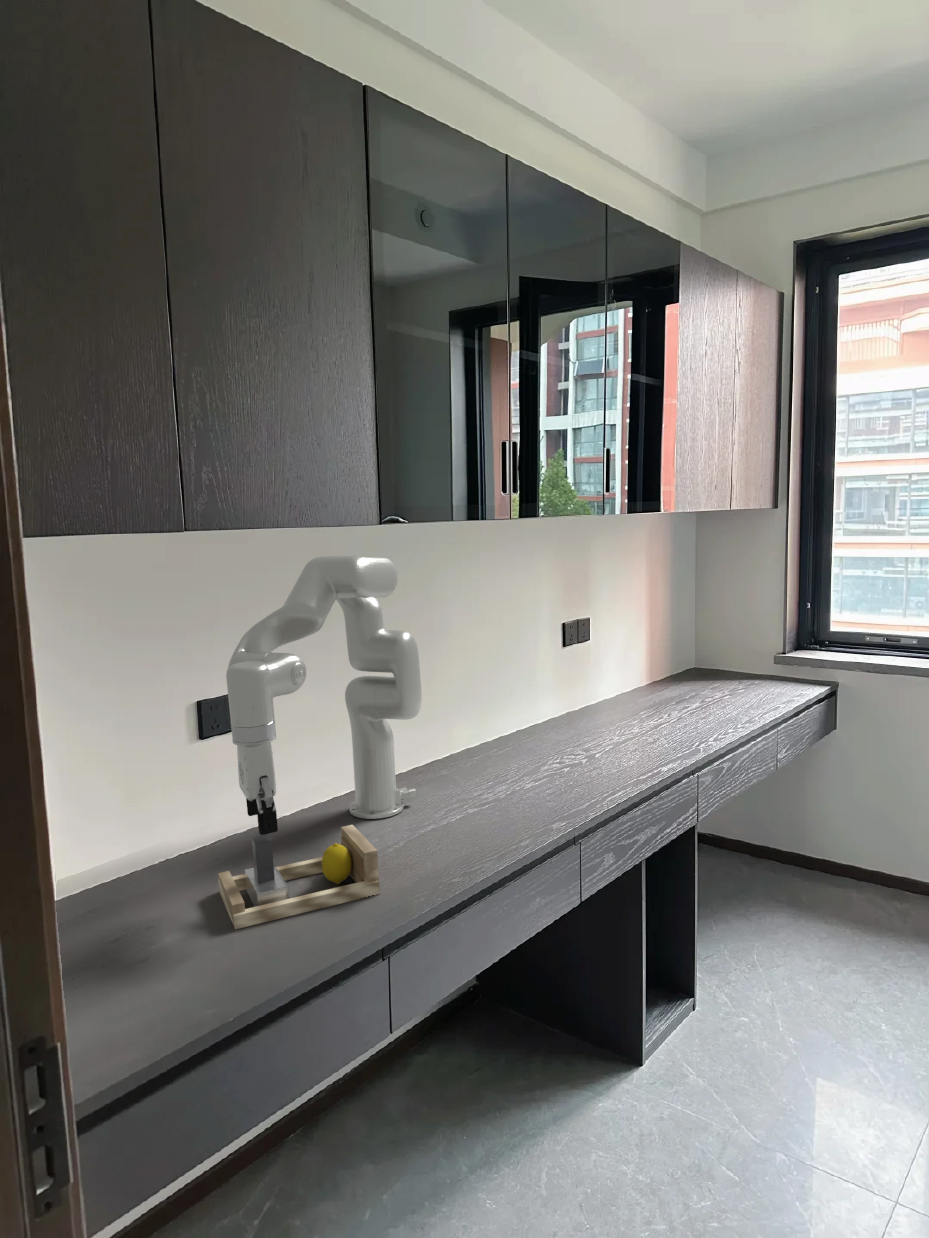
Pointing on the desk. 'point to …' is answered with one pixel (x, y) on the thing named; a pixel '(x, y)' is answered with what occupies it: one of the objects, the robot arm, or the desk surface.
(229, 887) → the press frame
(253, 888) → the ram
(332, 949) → the desk surface
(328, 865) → the lemon
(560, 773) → the desk surface
